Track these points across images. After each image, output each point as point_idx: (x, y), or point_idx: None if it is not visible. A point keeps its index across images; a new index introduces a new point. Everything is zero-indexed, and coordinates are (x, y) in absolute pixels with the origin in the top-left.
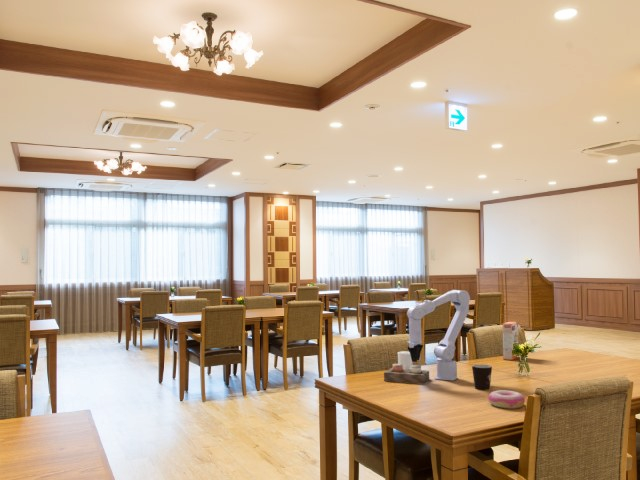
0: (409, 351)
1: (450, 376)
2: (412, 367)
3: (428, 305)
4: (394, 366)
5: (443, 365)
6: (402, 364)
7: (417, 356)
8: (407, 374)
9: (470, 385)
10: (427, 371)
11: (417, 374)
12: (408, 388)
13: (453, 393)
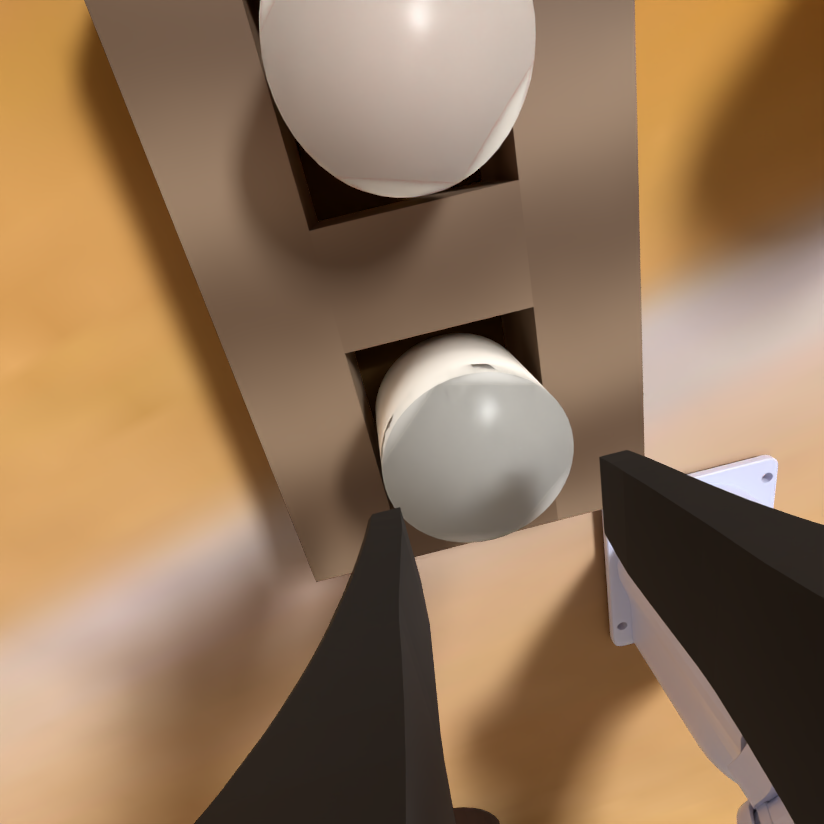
0: (257, 750)
1: (644, 636)
2: (382, 445)
3: None
4: (261, 31)
5: (703, 695)
6: (489, 155)
7: (649, 564)
8: (240, 390)
9: (508, 765)
10: (585, 506)
11: (321, 508)
12: (11, 504)
13: (177, 806)
